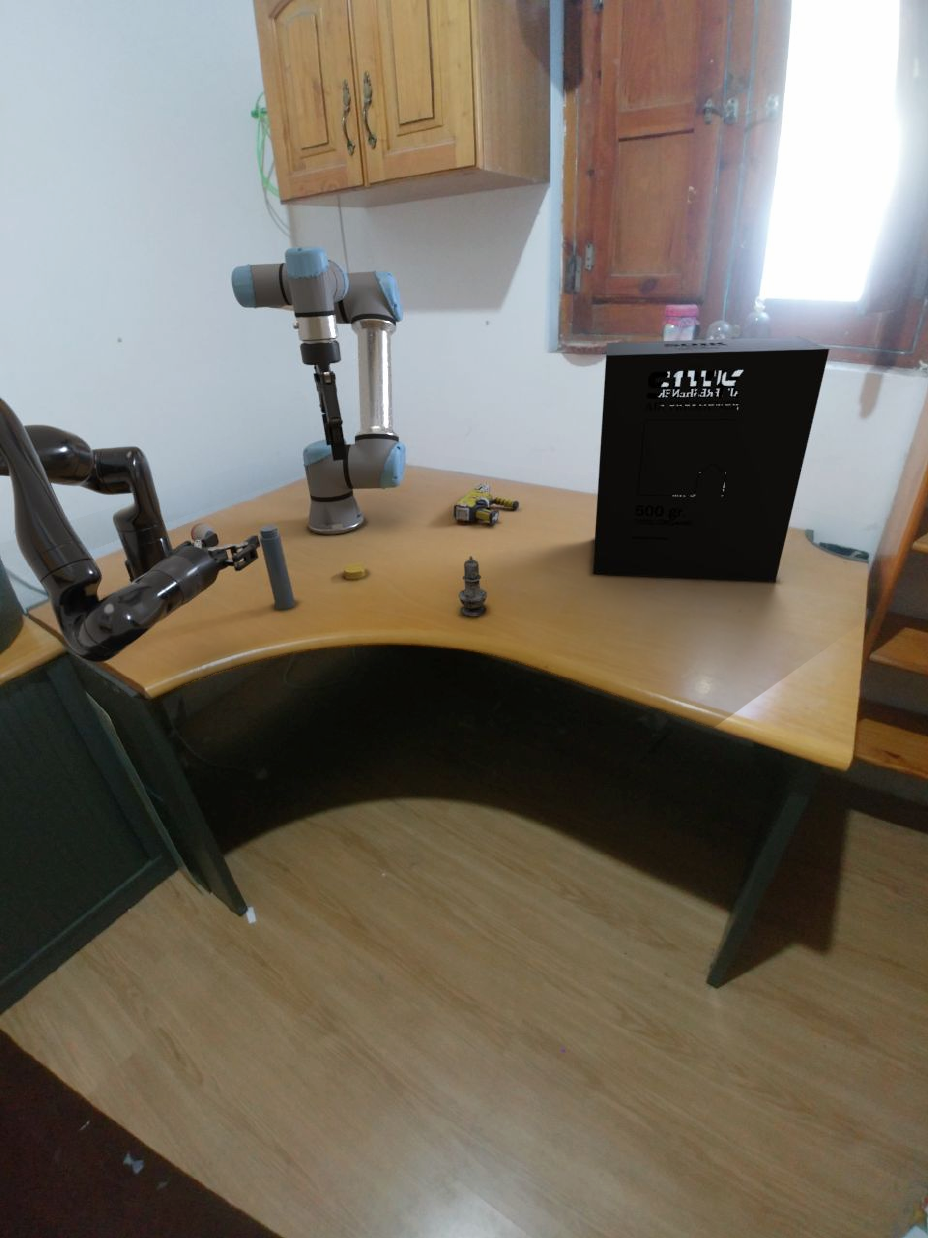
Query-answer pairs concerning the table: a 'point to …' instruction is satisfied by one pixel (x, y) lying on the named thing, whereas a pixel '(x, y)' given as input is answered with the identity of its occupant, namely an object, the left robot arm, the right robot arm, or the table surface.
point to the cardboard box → (703, 455)
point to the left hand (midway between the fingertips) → (236, 538)
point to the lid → (354, 571)
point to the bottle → (276, 567)
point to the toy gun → (480, 505)
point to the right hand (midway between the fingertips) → (336, 451)
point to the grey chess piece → (472, 590)
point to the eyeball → (201, 531)
